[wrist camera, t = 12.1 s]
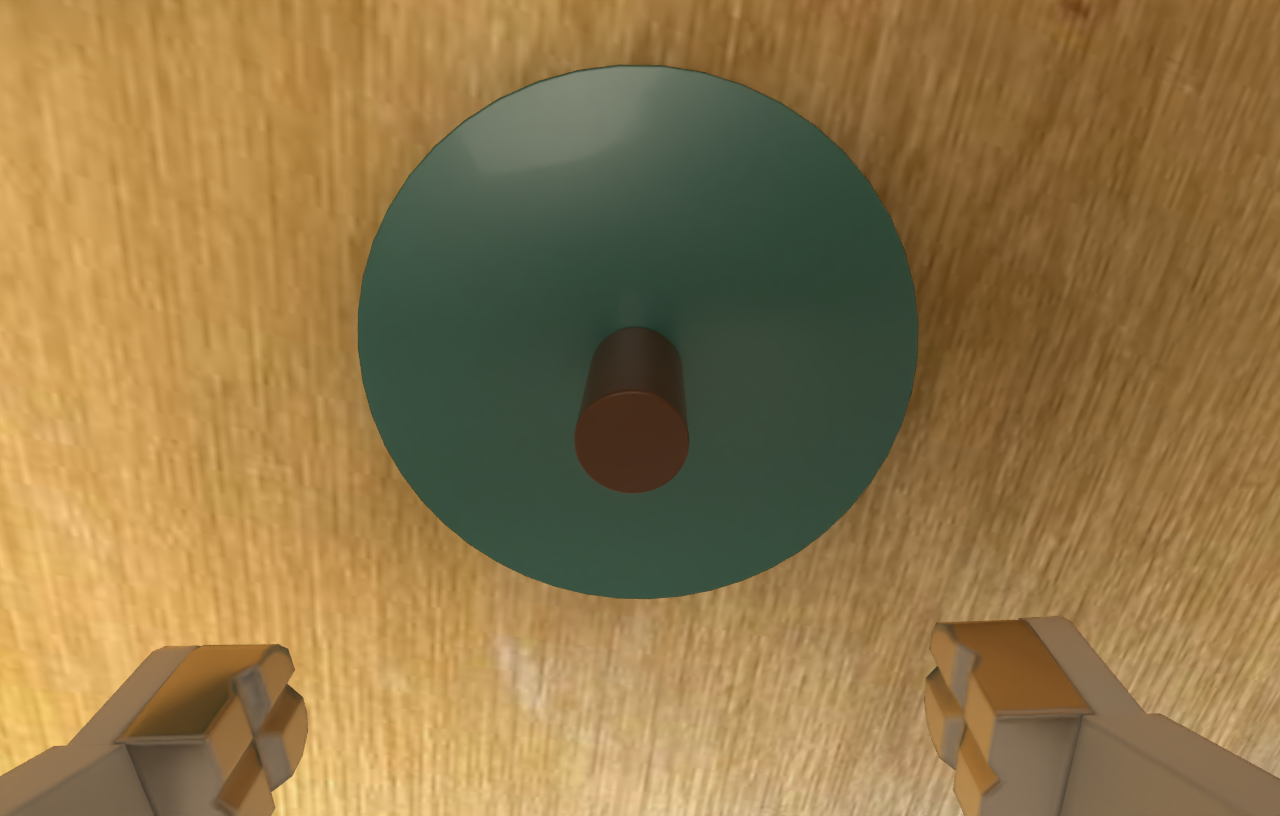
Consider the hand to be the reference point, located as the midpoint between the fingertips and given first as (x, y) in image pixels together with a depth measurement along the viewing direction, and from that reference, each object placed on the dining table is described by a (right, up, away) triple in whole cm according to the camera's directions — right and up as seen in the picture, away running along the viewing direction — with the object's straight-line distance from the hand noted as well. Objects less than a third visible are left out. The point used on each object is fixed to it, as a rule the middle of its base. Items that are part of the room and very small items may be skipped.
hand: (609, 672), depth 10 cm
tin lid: (0, +5, +11) cm, 12 cm away
